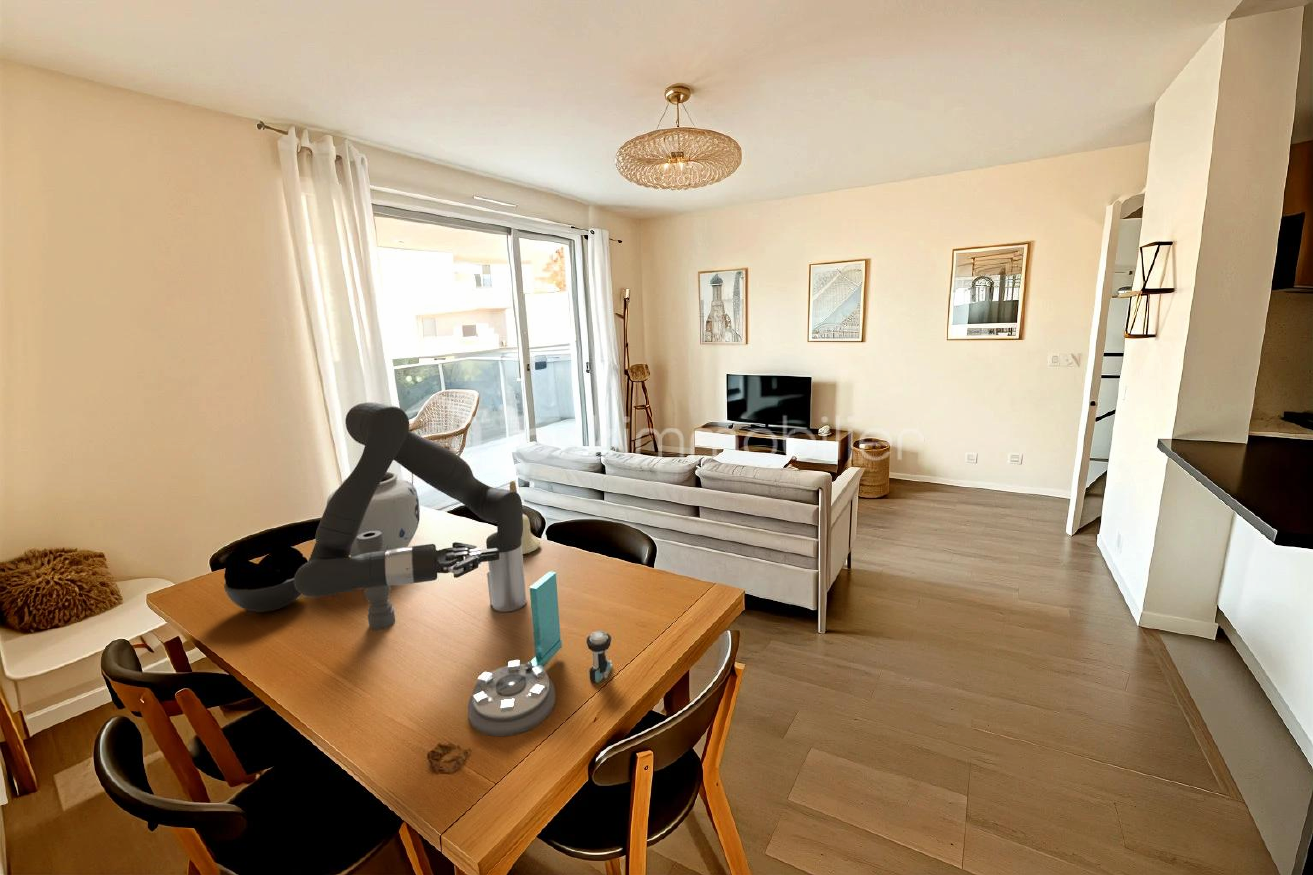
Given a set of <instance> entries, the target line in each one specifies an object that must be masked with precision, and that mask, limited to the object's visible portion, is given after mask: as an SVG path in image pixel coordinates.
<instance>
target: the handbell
mask: <svg viewBox="0 0 1313 875" xmlns="http://www.w3.org/2000/svg"><path fill="white" fill-rule="evenodd" d="M517 489H518V488H517V484H516V482H515V480H511V481H510V482H509V490H511V491H515V492H517V493H518V491H517ZM530 523H531V522H530V519H529V517H528V516H527V515H526V514H524V513H523V534H522V538H521V543H522V555H524V554H530V553H531V552H533V551H535V550H537V549H538V548H539V547H540V545H541V541H540V539H539V538H538V537H536V536H535V535H534V534H533V533H532V531H531V524H530Z"/></svg>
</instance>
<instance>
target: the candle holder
mask: <svg viewBox="0 0 1313 875" xmlns="http://www.w3.org/2000/svg"><path fill="white" fill-rule="evenodd" d="M357 543H358V549H359V550H360V552H361V553H362V554H364V553H370V552H378V551H381V549H382V545H383V538H382V532H381V531H368V532H364V533H361V534H359V535H358V536H357ZM391 591H392V589H391V585H389V586H388V585H387V586H381V587H374V588H364V591H363V592H364V597H365V598H366V600H367V601H368V602H369V607H368V608H367V612H368V614H367V620H368V626H369V629H370V630H371V631H381V630H385V629H387V628H390V627H392V626H393V625H394V624H395V623H396V615H395V609H394V608H393V604H392V602H391V601H389V596H390V593H391Z"/></svg>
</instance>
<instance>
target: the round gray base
mask: <svg viewBox="0 0 1313 875" xmlns="http://www.w3.org/2000/svg"><path fill="white" fill-rule="evenodd" d="M549 689H550V691H549V695H548V698H547V700H546V701H545V702H544V704H543V705H542V706H541V707H540V708H539V709H537V710H536V711H534V712H533V713H531V714H529V715H527V716H525V717H523V718H520V719H517V720H513V721H507V722H494V721H489V720H486V719H483V718H482V717H480V716H479V715H478V714H477V713H476V712H475V710H474V707H473V698H472V695H471V696H470V697H469V700H468V705H467V709H468V717H469V722H470V724H471V727H473V728H474V729H475V730H476V731H478V732H479V733H480V734H484V735H486V736H491V737H508V736H515V735H518V734H521V733H525V732H527V731H529V730H532V729H533V728H535V727H537V726H538V725H540V724H541V723H542V722H543V721H544V720H545V719H546V718H548V716H549V715H550V714H551V713H552V711H553V709H554V707H555V703H556V692H555V691H556V690H555V685H554V682H553V681H552V680H551V679H550V678H549Z"/></svg>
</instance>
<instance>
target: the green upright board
mask: <svg viewBox="0 0 1313 875" xmlns="http://www.w3.org/2000/svg"><path fill="white" fill-rule="evenodd" d="M557 584H558V583H557V573H556V572H554V571H548V572H547V573H546V574H545V575H543V576H542V577H541V578H540V579H538V580H537V581H536V582H535V583H533V584H532V585H531V586H530V587H529V596H530V607H531V608H530V609H531V617H532V618H531V619H532V630H533V631H532V632H533V640H534V641H533V643H534V644H533V646H534V657H533V658H532V660H531V661H530V660H528V661H526V662H525V663H521V662H520V659H515V660H509V661H508V665H504V666H502V667H501V666H500V667H498V668H496V669H493V670H492V671H490V672H487V671H484V672H483V673H482V674H481V675H479V676H478V678H477V682H476V684H475V685H474V687H473V690H472V694H471V696H472V698H473V707H474V710H475V712H476V713H477V714H478V715H479V716H480V717H482V718H483V719H486V720H489V721H494V722H507V721H513V720H517V719H520V718H523V717H525V716H527V715H529V714H531V713H533V712H534V711H536V710H537V709H539V708H540V707H541V706H542V705H543V704H544V702H545V701H546V700H547V698H548V695H549V691H550V689H549V679H550V677H549V675H548V673H547V669H546V668H545V666H546V665H547V664H548V663H549V662H550V661H551V660H552V658H554V656H556V654H557V653H558V652H559V651H560V650H561V649H562V647H563V643H562V642H563V640H562V639H561V628H560V627H561V624H560V610H559V598H558V585H557Z"/></svg>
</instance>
